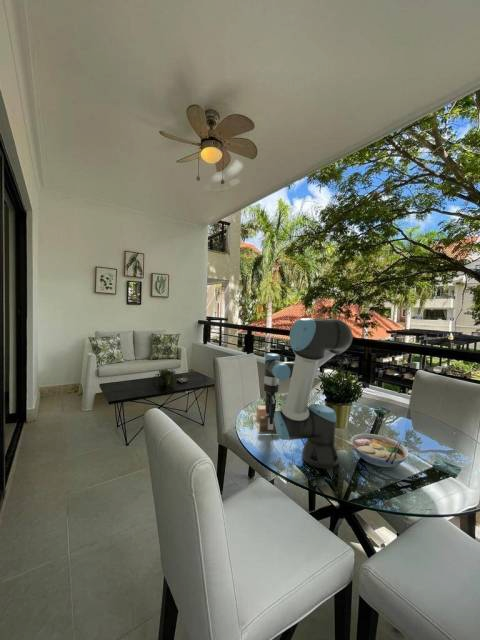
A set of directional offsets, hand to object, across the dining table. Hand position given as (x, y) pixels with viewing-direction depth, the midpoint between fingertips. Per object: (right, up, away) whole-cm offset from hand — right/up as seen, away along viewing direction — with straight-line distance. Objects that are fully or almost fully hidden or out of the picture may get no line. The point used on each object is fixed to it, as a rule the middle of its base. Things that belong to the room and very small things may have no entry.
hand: (269, 427), depth 152 cm
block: (-2, 0, +16) cm, 17 cm away
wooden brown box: (-2, -1, +11) cm, 11 cm away
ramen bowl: (+44, -6, -25) cm, 52 cm away
